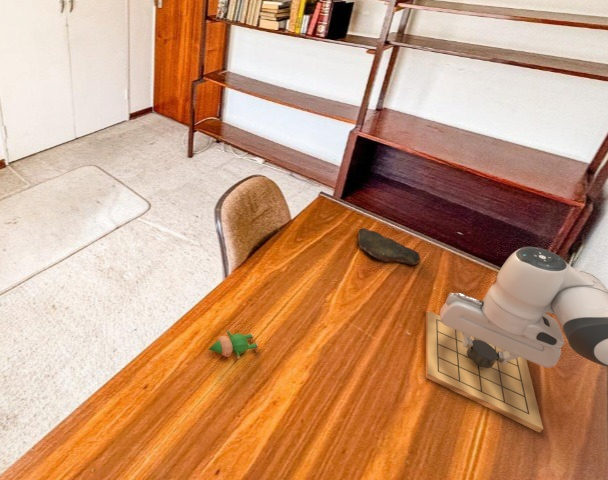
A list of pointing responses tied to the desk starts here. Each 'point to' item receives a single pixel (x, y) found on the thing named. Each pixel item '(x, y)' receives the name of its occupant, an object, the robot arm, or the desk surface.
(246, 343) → the figurine
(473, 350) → the game stone
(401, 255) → the stone
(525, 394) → the go board
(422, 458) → the desk surface
